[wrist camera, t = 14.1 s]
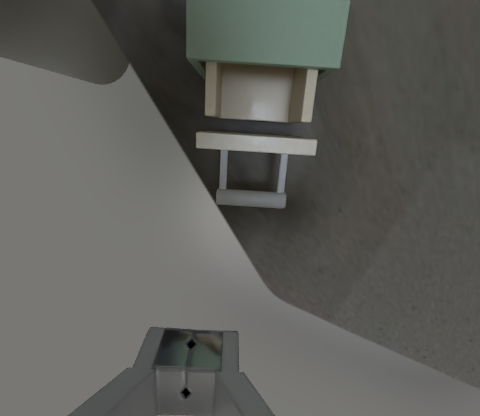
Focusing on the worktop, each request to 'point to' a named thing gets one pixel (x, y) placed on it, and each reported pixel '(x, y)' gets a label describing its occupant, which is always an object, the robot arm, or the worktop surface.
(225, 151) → the drawer
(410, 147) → the worktop surface
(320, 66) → the cabinet
